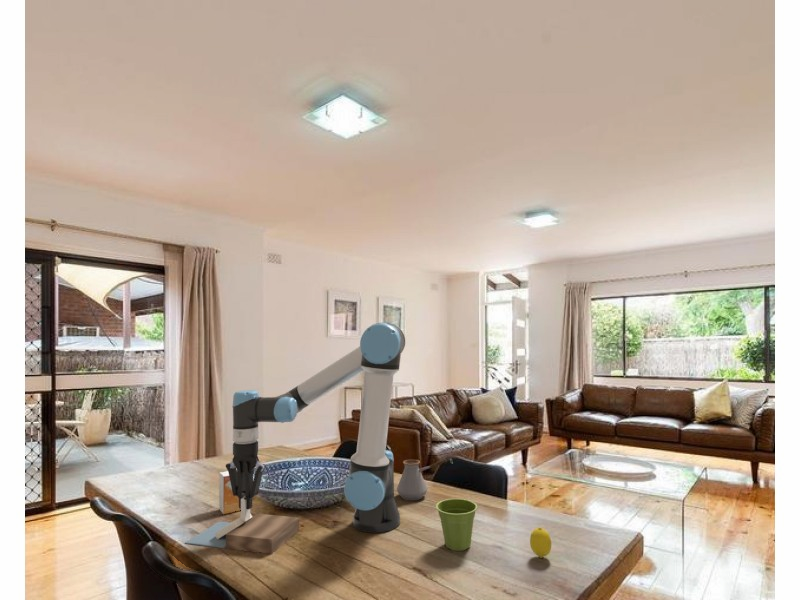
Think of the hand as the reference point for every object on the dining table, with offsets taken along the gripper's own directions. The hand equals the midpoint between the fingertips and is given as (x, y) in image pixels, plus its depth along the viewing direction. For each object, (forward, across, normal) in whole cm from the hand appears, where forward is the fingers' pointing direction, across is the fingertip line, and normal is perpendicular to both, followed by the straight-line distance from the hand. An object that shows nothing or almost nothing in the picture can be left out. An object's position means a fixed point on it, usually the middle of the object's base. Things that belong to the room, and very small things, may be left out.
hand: (245, 519), depth 146 cm
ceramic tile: (+3, -4, 0) cm, 5 cm away
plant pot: (+5, +64, +9) cm, 65 cm away
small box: (+6, -18, +19) cm, 27 cm away
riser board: (+5, +6, 0) cm, 8 cm away
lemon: (+5, +87, +7) cm, 87 cm away
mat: (+5, -9, 0) cm, 10 cm away
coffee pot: (+5, +46, +45) cm, 65 cm away
